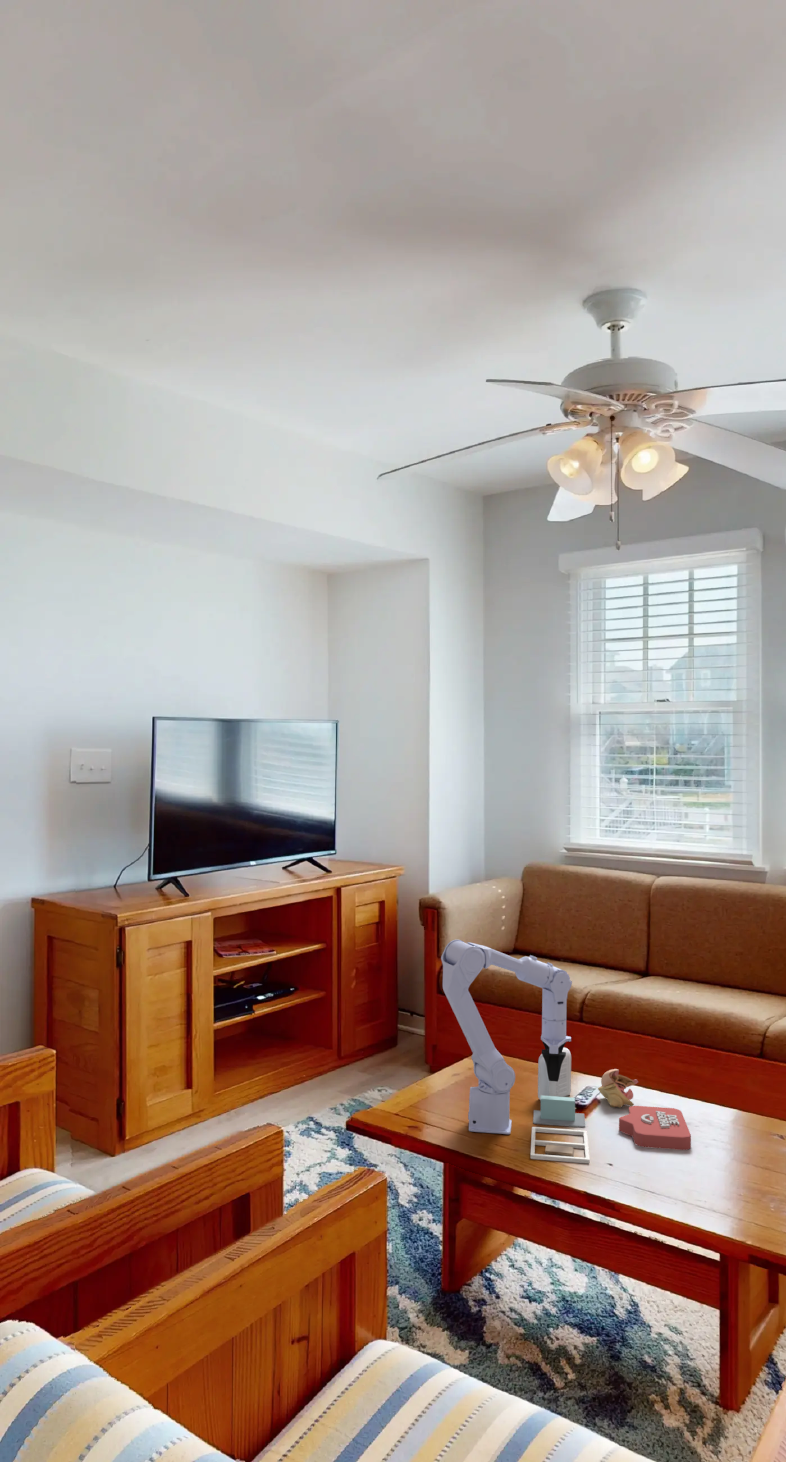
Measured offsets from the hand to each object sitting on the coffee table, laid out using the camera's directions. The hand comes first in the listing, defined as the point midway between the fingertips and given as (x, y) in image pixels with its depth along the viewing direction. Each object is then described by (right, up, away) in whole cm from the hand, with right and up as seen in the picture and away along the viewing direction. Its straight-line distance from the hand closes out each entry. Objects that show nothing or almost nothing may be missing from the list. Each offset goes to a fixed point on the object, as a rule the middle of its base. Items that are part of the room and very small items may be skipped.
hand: (553, 1075), depth 228 cm
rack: (-1, -10, -17) cm, 19 cm away
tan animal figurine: (+17, -11, +10) cm, 23 cm away
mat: (+1, -10, -1) cm, 10 cm away
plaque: (+21, -11, -8) cm, 25 cm away
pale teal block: (+1, -10, -1) cm, 10 cm away
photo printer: (+3, -11, +14) cm, 18 cm away
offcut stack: (-2, -10, -21) cm, 23 cm away
